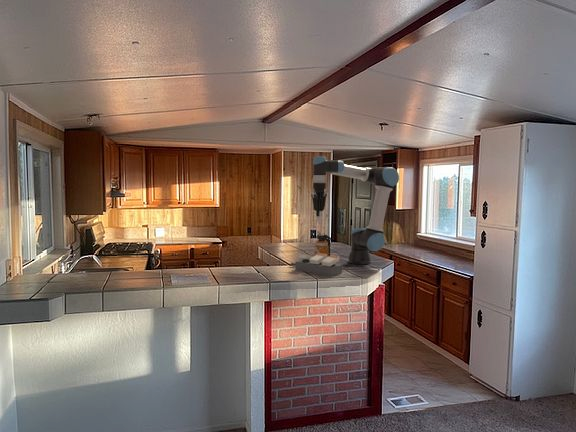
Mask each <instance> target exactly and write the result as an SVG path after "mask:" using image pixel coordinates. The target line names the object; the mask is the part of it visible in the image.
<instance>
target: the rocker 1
mask: <svg viewBox="0 0 576 432" xmlns="http://www.w3.org/2000/svg"><path fill="white" fill-rule="evenodd" d="M314 256H315V254H314V255H313V254H305V253H300V252H299V253H298V254H297V258H299V259H311V258H312V257H314Z"/></svg>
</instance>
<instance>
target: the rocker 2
mask: <svg viewBox="0 0 576 432" xmlns="http://www.w3.org/2000/svg"><path fill="white" fill-rule="evenodd" d="M326 258H327V254H323V253H318V254H317V255H315V254H314V257H312V258H311V259H309V260H310V263H312V264H319V263H321V261H323V260H324V259H326Z"/></svg>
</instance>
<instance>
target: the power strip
mask: <svg viewBox="0 0 576 432" xmlns="http://www.w3.org/2000/svg"><path fill="white" fill-rule="evenodd" d="M290 266H294V267H295V271H300V270H302V271H301V272H306V271H308V272H307V273H311V272H313V274H316V273H318V274H317V275H322V274H323V276H328V277H333V276H337V275H340V274H342V273H343V264H339V263H335V264H333V265H332V266H324V265H322V262H321V263H319V264H312V263H310V260H309V259H304V258H301V260H296V261H295V263H294V262H290Z"/></svg>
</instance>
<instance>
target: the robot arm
mask: <svg viewBox="0 0 576 432" xmlns="http://www.w3.org/2000/svg"><path fill="white" fill-rule="evenodd" d="M312 163H313V164H312V165H313V168H312V169H313V170H312V171H313V175H312V177H313V179H312V180H313V181H312V182H313V183H312V189H313V190H314V191H313V193H311V198H312V199H311V200H312V206H313V210H314V211H315V212H316V213H315V214H316V222H317V223H321V222H322V215H323V211H324V210H325V206H326V200H327V196H328V194H327V193H326V192H325V190H326V186H327V184H326V183H327V174H329V175H335V176H339V177H340V176H341V177H346V178H351V179H356V180H361V181H362V182H363V183H369V184H372V185H374V188H375V189H376V191H375V196H374V198H373V199H374V200H373V204H372V207H371V209H372V210H371V213H370V218H369V222H368V225H367V226H366V227H365V228H364V227H363V228H353V229H351V233H350V237H351V238H350V240H351V241H350V253H349V255H348V259H347V260H348V261H347V263H349V264H353V265H369V264H371V263H372V257H371V255H370V252H369V250H370V251H373V252H374V251H375V252H378V251H381V250H382V249H383V248H384V246H385V244H386V238H385V235H384V231H385V230H384V229H383V227H384V221H385V216H386V211H387V207H388V201H389V198H390V193H391V192H392V191H394V186H396V185H397V184H398V183H399V180H400V175H399V172H398V170H397V169H396V168H394V167H392V166H391V167H389V166H383V167H366V166H364V167H358V166H354V165H348V164H345V162H344V161H343V160H339V159H327V157H326V156H321V155H320V156H319V155H318V156H314V157H313V162H312Z"/></svg>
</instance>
